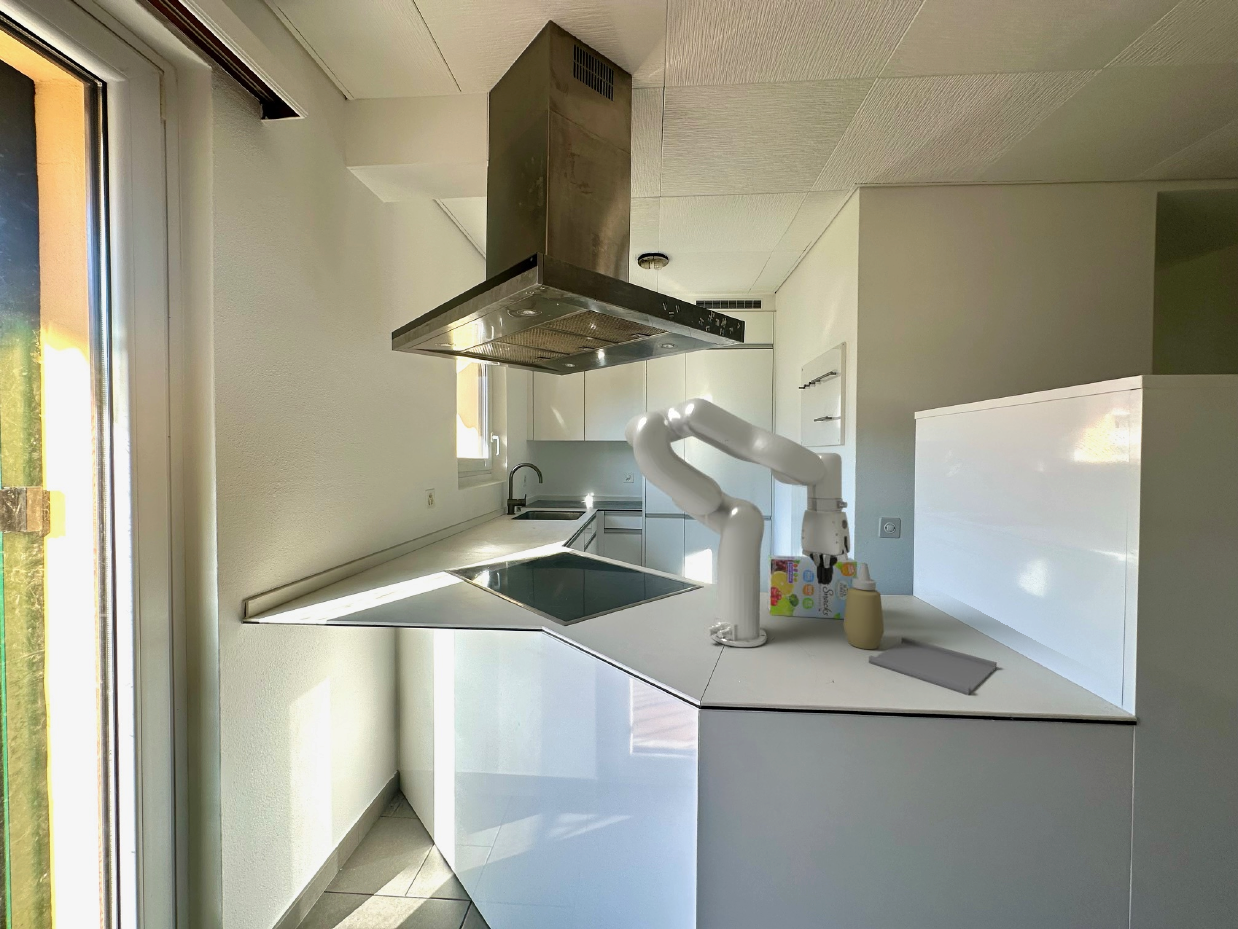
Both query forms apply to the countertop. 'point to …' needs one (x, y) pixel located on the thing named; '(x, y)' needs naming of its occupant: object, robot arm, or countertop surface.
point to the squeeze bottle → (863, 612)
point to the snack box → (807, 587)
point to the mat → (935, 665)
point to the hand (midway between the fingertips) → (824, 583)
